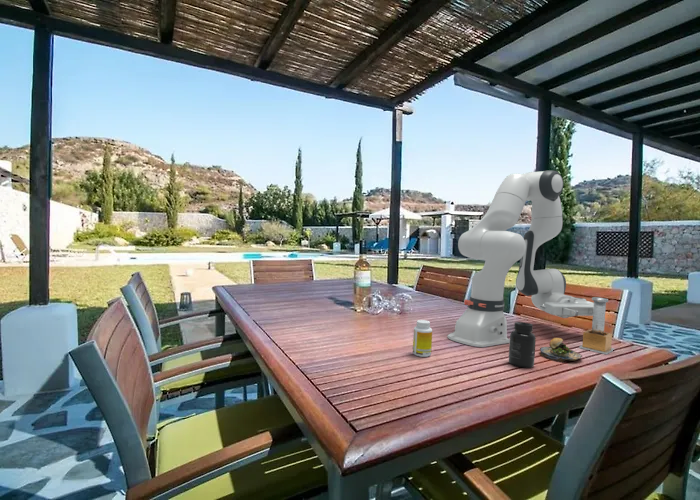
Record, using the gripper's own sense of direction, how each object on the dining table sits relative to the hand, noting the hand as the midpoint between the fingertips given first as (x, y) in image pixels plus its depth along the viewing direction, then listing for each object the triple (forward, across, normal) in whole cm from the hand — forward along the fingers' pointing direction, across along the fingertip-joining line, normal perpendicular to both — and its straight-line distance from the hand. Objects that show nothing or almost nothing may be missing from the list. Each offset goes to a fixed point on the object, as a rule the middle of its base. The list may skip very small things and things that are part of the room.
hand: (588, 313), depth 131 cm
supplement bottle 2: (+20, -36, +11) cm, 43 cm away
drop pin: (+5, 0, +10) cm, 11 cm away
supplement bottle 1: (+12, -63, +11) cm, 65 cm away
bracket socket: (+5, 0, +11) cm, 12 cm away
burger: (+13, -19, +12) cm, 26 cm away
